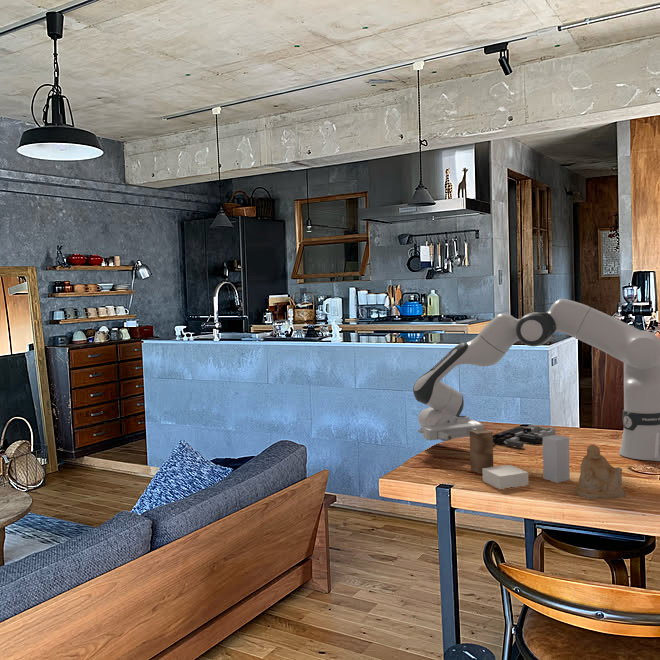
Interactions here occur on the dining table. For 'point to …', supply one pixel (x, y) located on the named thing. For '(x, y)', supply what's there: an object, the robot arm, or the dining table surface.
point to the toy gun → (523, 435)
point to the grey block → (556, 458)
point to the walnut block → (481, 449)
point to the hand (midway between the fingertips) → (462, 435)
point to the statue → (599, 477)
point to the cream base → (505, 476)
